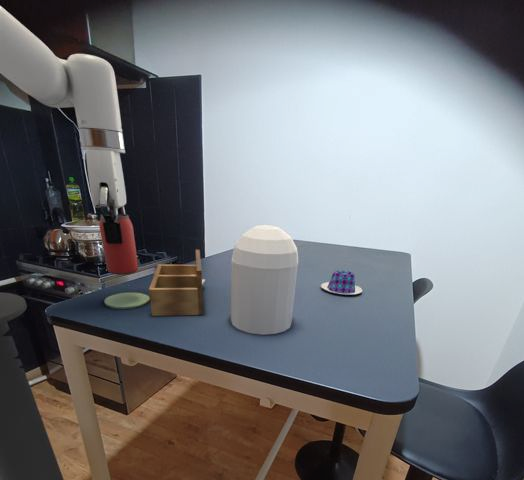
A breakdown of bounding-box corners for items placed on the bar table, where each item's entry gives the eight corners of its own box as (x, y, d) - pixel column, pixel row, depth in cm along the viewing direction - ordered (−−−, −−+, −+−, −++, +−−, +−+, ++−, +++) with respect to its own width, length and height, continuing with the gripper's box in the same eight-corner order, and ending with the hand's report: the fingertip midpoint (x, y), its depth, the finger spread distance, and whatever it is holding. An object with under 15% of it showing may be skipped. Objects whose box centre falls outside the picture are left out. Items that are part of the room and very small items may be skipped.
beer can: (144, 271, 73) (137, 215, 68) (119, 277, 68) (109, 217, 63) (127, 266, 76) (119, 212, 71) (101, 271, 72) (90, 214, 66)
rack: (151, 316, 69) (146, 270, 64) (160, 286, 87) (156, 248, 82) (203, 314, 71) (201, 270, 66) (200, 286, 89) (199, 249, 84)
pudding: (358, 285, 98) (361, 268, 96) (365, 298, 88) (369, 280, 85) (319, 282, 99) (321, 265, 96) (321, 294, 88) (324, 276, 86)
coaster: (100, 309, 71) (99, 307, 70) (109, 294, 79) (109, 292, 79) (147, 308, 73) (146, 306, 72) (151, 294, 81) (151, 292, 81)
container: (299, 317, 73) (310, 225, 64) (280, 340, 62) (290, 233, 53) (246, 306, 77) (249, 218, 68) (219, 326, 66) (218, 224, 57)
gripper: (93, 144, 67) (108, 233, 76) (66, 136, 52) (88, 248, 61) (131, 147, 69) (141, 234, 77) (114, 140, 54) (130, 248, 62)
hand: (118, 239), depth 69 cm, fingers closed on beer can, 6 cm apart
